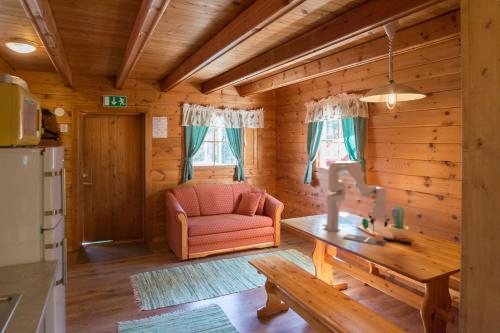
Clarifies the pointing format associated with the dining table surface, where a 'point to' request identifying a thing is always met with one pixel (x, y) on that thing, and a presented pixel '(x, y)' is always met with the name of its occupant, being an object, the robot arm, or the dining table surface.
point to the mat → (363, 239)
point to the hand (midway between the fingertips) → (378, 225)
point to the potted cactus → (398, 223)
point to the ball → (379, 238)
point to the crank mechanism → (365, 227)
